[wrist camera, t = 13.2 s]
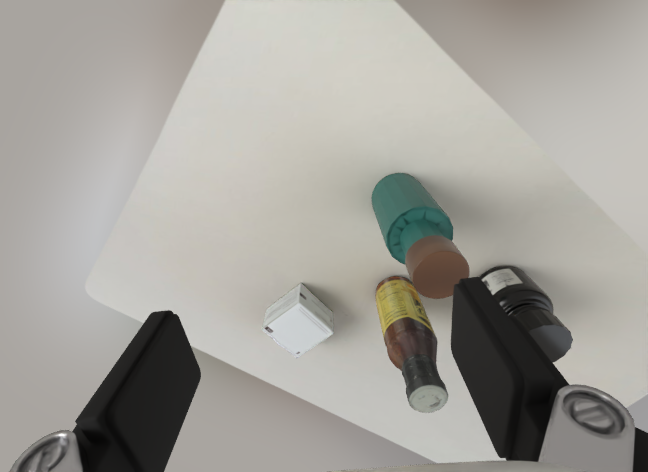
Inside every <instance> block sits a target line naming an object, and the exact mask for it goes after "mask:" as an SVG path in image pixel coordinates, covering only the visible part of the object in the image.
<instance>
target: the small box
mask: <svg viewBox="0 0 648 472" xmlns="http://www.w3.org/2000/svg"><path fill="white" fill-rule="evenodd" d="M262 330H263V331H264V332H265V333H266V334H267V335H269V336H270V337H271V338H272V339H274V340H275V341H276V343H277V344H278V345H279V346H281V347H283V348H285V349H286V350H287V351H288V352H290V353H291V354H292V355H293V356H295V357H296V358H298V357H300V356H301V355H303V354H304V353H306V352H307V351H309V350H310V349H311V348H313V347H314V346H316V345H317V344H319V343H320V342H322V341H323V340H325V339H326V338H328V337H329V336H331V335H332V334H334V331H333V312H332V311H331V310H329V309H328V308H327V307H326V306H325V305H324V304H323V303H322V302H321V301H320V300H319V299H317V298H316V297H315V296H314V295H313V294H312V293H311V292H310V291H309V290H308V289H307V288H306V287H305V286H304V285H303V284H302V283H300V284H299V285H298V286H296V287H295V288H294V289H292V290H291V291H290V292H288V293H287V294H286V295H284V296H283V297H282V298H281V299H279V300H278V301H277V302H275V303H274V304H273V305H271V306H270V307H269V308H267V310H266V314H265V318H264V322H263V326H262Z"/></svg>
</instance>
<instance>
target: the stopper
mask: <svg viewBox="0 0 648 472" xmlns="http://www.w3.org/2000/svg"><path fill="white" fill-rule="evenodd" d="M405 265H406V268H407V270H408V273H409V275H410V278H411V280H412V282H413V285H414V287H415V289H416V290H417V291H418V292H419V293H420V294H422V295H423V296H426V297H428V298H434V299H440V298H446V297H449V296H451V295H453V291H454V284H459V281H460V279H464V278H468V277H469V265H468V263H467V261H466V259H465V258H464V257H463V255H462V254H461V253H460V251H459V250H458V249H457V247H456V246H455V245H454V243H453V242H452V241H451V240H449V239H448V238H446V237H443V236H438V235H432V236H427V237H424V238H421V239H419V240H418V241H416V242H415V243H414V244H413V245H412V246H411V247H410V248H409V250H408V252H407V254H406V258H405Z"/></svg>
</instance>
